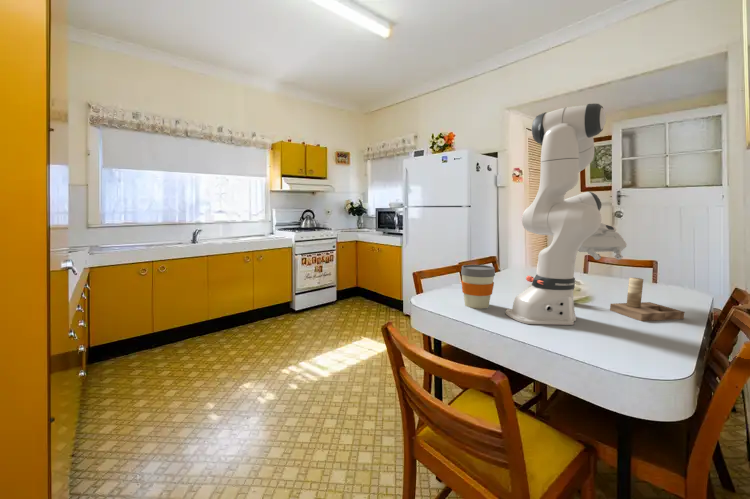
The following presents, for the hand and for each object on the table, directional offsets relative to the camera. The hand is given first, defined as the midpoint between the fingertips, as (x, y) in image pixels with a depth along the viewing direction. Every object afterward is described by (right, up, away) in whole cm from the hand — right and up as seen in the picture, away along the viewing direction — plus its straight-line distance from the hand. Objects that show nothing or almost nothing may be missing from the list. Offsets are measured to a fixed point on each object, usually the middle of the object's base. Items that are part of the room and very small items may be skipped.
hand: (609, 258), depth 131 cm
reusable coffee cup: (-52, -18, 0) cm, 55 cm away
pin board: (+5, -19, -12) cm, 23 cm away
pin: (+2, -17, -10) cm, 20 cm away
